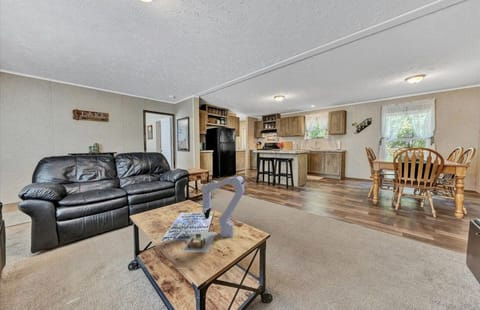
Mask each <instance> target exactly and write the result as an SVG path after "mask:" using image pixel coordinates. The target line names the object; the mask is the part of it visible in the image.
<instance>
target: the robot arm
mask: <svg viewBox="0 0 480 310" xmlns="http://www.w3.org/2000/svg"><path fill="white" fill-rule="evenodd" d="M245 183H246V182H245V178H244V177H243V176H242V175H237V176H231V177H228V178H226V179H223V180H220V181H218V180H212V182H207V183H206V184H203V185H202V186H201V188H200V190H201V192H202V205H201V206H200V207H201V208H202V213H203V215H204V218H205V219H206V220H208V219H209V218H210V214H211V210H212V200H211V199H212V195H211V194H212V193H211V192H212V191H215V190H218V189H219V188H220V187H222V186H224V185H229V186H232V187H233V189H234V190H235V193H234V195H233V196H232V198H231V200H230V202H229V203H228V205H227V206H226V209H225V210H224V212H223V213H222V215H220V216H219V217H218V224H220V225H219V227H220V228H219V231H220V233H219V234H220V237H224V238H226V237H229V238H230V239H233V237H234V233H235V231H234V230H235V229H234V228H235V227H234V223H233V222H231V219H232V217H233V216H232V215H233V212H234V211H235V209H236V208H237V206H238V204H239V202H240V200H241V198H242V197H243V196H244V194H245Z"/></svg>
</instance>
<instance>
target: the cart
mask: <svg viewBox="0 0 480 310" xmlns="http://www.w3.org/2000/svg"><path fill="white" fill-rule="evenodd" d="M202 241H203V240H202V237H201V234H196V237H195V239H194V240H193V243H198V244H201V242H202Z"/></svg>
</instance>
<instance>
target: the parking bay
mask: <svg viewBox="0 0 480 310" xmlns="http://www.w3.org/2000/svg"><path fill="white" fill-rule="evenodd" d="M193 240H194V238H192V239H191V241H190V242H189V244H188V248H195V249H202V248H203V246H204V244H205V238H204V239H203V241H202V242H201V244H198V243H193Z"/></svg>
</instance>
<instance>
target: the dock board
mask: <svg viewBox="0 0 480 310" xmlns="http://www.w3.org/2000/svg"><path fill="white" fill-rule="evenodd" d="M196 234H201V237H202V240H203V239H204V238H205V244H204V246H203V248H202V249H195V248H188V244H189V242H190V241H191V239H192V238H194V239H195V237H196ZM216 234H217V231H194V232H193V233H192V236H191V237H190V239H189V240H188V241H187V243H186V244H185V247H184V248H183V249H182V251H181V252H182V253H209V251H210V250H211V247H212V244H213V243H214V242H213V241H214V239H215V237H216Z"/></svg>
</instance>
